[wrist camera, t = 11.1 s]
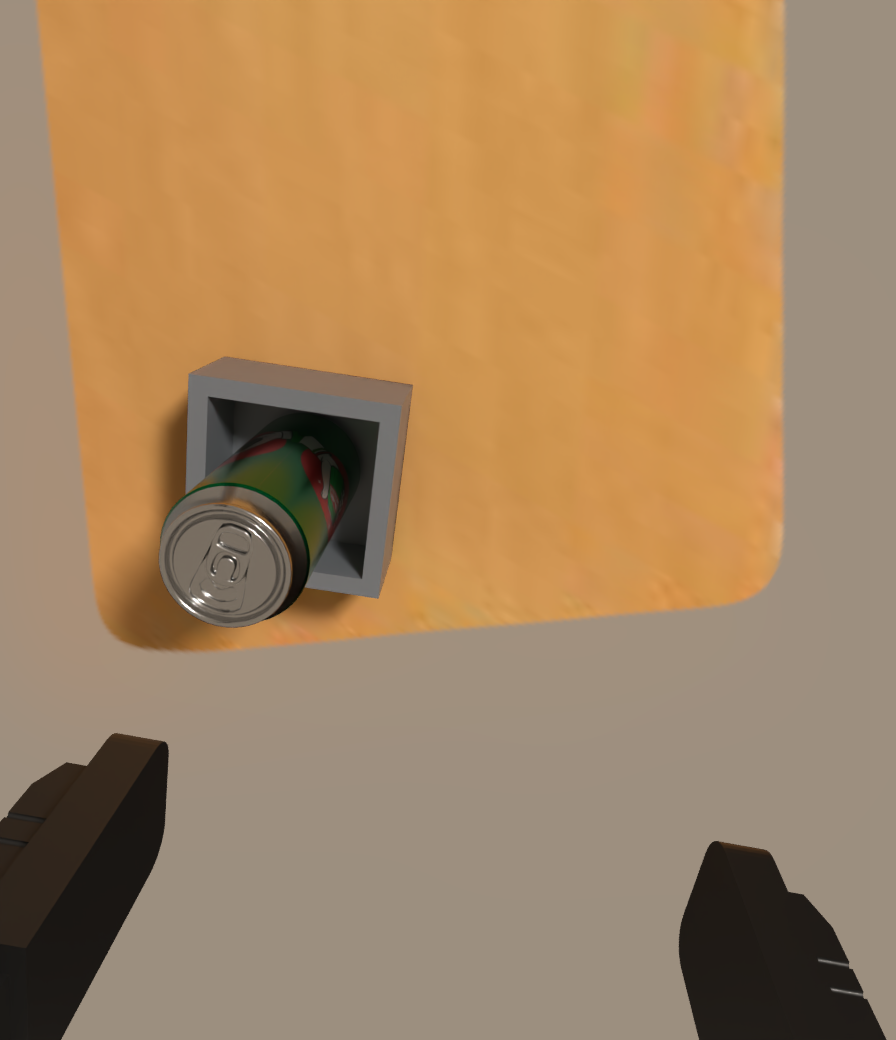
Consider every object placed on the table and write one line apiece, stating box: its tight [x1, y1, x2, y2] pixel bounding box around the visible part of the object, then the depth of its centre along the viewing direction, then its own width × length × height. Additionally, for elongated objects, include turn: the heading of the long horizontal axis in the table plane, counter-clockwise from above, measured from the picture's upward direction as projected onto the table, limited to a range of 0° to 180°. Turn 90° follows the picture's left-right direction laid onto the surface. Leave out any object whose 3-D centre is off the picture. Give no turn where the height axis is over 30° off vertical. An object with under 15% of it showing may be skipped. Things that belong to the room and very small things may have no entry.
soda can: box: [159, 413, 361, 628], centre depth 31 cm, size 5×5×12 cm
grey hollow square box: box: [186, 357, 413, 598], centre depth 35 cm, size 9×9×4 cm
